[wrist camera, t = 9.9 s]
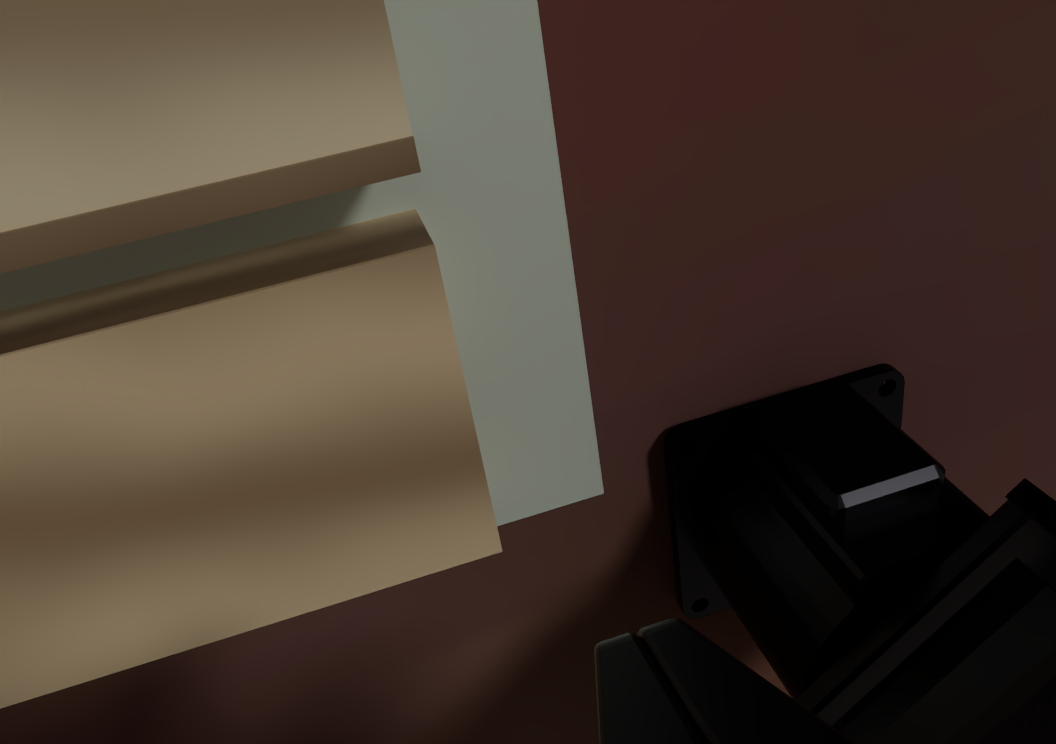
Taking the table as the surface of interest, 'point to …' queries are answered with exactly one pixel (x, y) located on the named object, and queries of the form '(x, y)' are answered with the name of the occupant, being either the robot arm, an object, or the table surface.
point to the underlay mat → (447, 242)
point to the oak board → (229, 450)
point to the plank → (186, 115)
